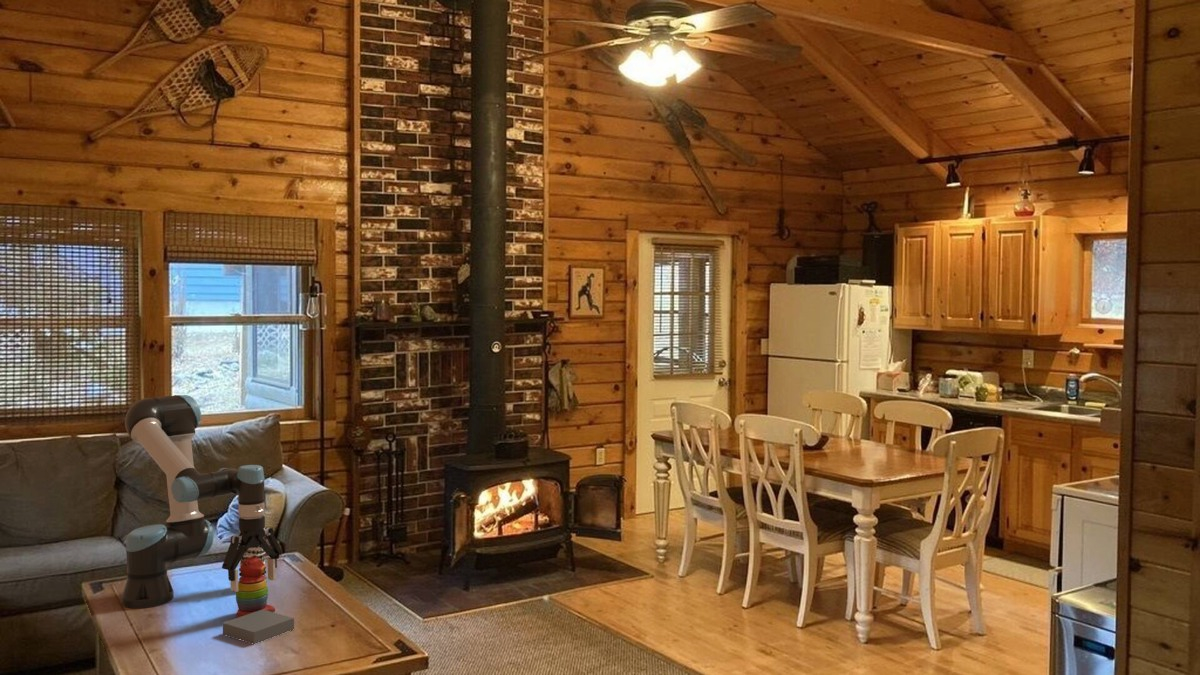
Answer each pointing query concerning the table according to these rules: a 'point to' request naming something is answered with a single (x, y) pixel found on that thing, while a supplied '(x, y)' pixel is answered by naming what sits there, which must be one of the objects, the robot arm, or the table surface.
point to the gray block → (258, 626)
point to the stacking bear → (252, 588)
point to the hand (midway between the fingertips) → (253, 585)
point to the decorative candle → (253, 551)
